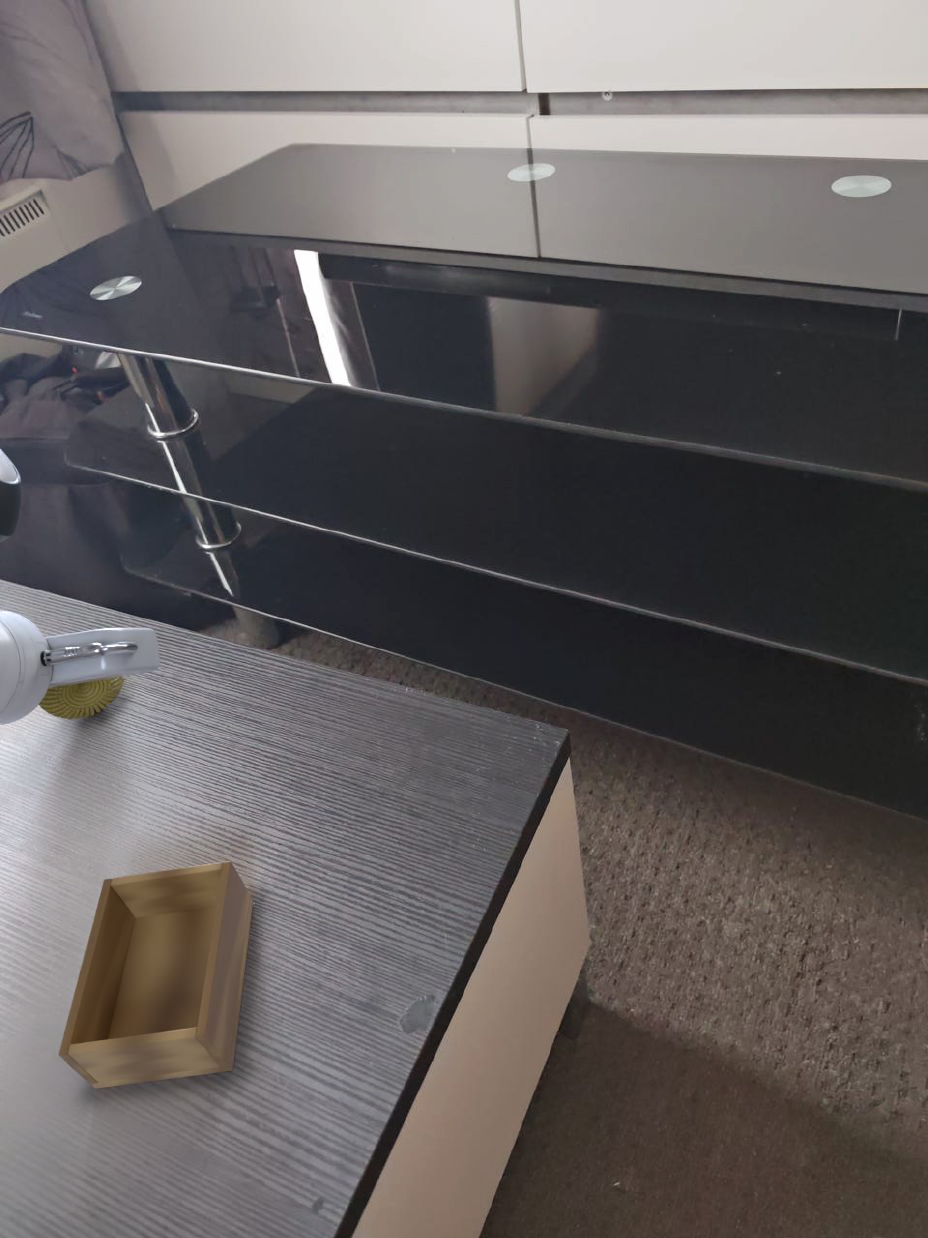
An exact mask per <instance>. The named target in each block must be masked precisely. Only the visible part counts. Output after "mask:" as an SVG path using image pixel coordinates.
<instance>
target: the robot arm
mask: <svg viewBox="0 0 928 1238" xmlns="http://www.w3.org/2000/svg"><path fill="white" fill-rule="evenodd" d="M21 509H22V478H21V475H20V472H19V471H18V469H17V467H16V465H14V463H13V461H11V459H10V458H9V457H8V456H7V455H6V453H5V452H4V451H3V450H2V449H1V448H0V544H1V543H3V542H4V541H6V540H8V539H9V538H11V537H12V536H13V535H14V534H15V532H16V530H17V526H18V523H19V519H20V513H21ZM160 665H161V655H160V647H159V640H158V637H157V633H156V631H155V630H154V629H153V628H151V627H105V628H97V629H96V628H95V629H89V630H83V631H76V632H70V633H65V634H57V635H52V636H51V635H50V636H46V637H45V635H44V634H43V632H42V631H41V630H40V629H39V628H38V626H37V625H36V624H34V623H33V622H32V621H31V620H29V619H28V618H27V617H25V616H23V615H21V614H19V613H16V612H13V611H8V610H1V609H0V726H3V725H7V724H11V723H12V724H13V723H14V722H17V721H19V720H22V719H23V718H24V717H26V716H28V715H29V714H30V713H32V712H33V711H34V710H35V709H36V708H37V707H38V706H39V705H38V704H39V703H40V702H41V701H42V699H43V698H44V696H45V694H46V692H47V690H48V688H53V687H59V686H65V685H72V684H78V683H84V682H91V681H97V680H103V679H109V678H116V677H122V676H124V677H128V676H134V675H140V674H141V675H142V674H146V673H150V672H154V671H156V670H158V669H159V667H160Z"/></svg>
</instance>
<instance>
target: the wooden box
mask: <svg viewBox="0 0 928 1238" xmlns="http://www.w3.org/2000/svg"><path fill="white" fill-rule="evenodd" d="M253 905H254V899H253V898H252V896H251V894H250V892H249V891H248V888H247V887H246V885H245V884H244V881H243V880H242V878H241V876H240V875H239V873H238V871H237V870H236V868H235V866H234V864H233V863H232V861H231V860H227V861H223V862H216V863H215V862H214V863H207V864H200V865H193V866H187V867H181V868H173V869H167V870H160V871H153V872H146V873H139V874H131V875H125V876H119V877H113V878H105V879H103V882H102V886H101V891H100V894H99V898H98V902H97V906H96V910H95V913H94V917H93V922H92V925H91V929H90V932H89V936H88V940H87V944H86V948H85V951H84V956H83V959H82V963H81V967H80V971H79V975H78V978H77V981H76V986H75V990H74V994H73V998H72V1002H71V1005H70V1009H69V1012H68V1016H67V1020H66V1024H65V1028H64V1031H63V1034H62V1035H63V1036H62V1040H61V1043H60V1048H59V1050H58V1056H59V1058H60V1059H62V1060H63V1061H64V1062H65V1063H66V1064H67V1065H68V1066H69V1067H70V1068H71V1069H73V1070H74V1071H75V1072H76V1073H77V1074H78V1075H79V1076H80V1077H81V1078H82V1079H83V1080H85V1082H86V1083H88V1084H89V1086H91V1087H92V1088H93V1089H94V1090H96V1089H97V1090H98V1089H102V1088H110V1087H118V1086H119V1087H120V1086H125V1085H132V1084H133V1085H134V1084H141V1083H149V1082H157V1081H163V1080H172V1079H178V1078H187V1077H193V1076H194V1077H195V1076H199V1075H200V1076H203V1075H209V1074H216V1073H224V1072H231V1071H233V1070H234V1064H235V1056H236V1047H237V1046H236V1045H237V1039H238V1033H239V1032H238V1031H239V1023H240V1022H239V1021H240V1014H241V1006H242V997H243V990H244V981H245V974H246V973H245V972H246V965H247V964H246V963H247V957H248V956H247V955H248V947H249V940H250V931H251V923H252V916H253V915H252V914H253V913H252V912H253V908H254V906H253Z"/></svg>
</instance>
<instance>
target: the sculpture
mask: <svg viewBox="0 0 928 1238" xmlns="http://www.w3.org/2000/svg"><path fill="white" fill-rule="evenodd" d="M124 680H125V676H122V677H116V678H109V679H103V680H97V681H91V682H84V683H78V684H72V685H65V686H59V687H53V688H48V690H47V692H46V694H45V696H44V698H43V699H42V701H41V702H40V703H39V704H38V706H39V707H40V708H41V709H42V710H44V711H45V712H46V713H47V714H49V715H52V716H53V717H57V718H60V719H63V720H66V719H67V720H78V719H79V720H81V719H82V718H83V719H86V718H88V717H89V716H90V717H91V716H94V715H95V712H96V713H101V709H102V710H105V709H106V708H107V706H110V705H111V704H112V703H113V701H115V699H116V698H117V697H118V696H119V694H120V692H121V690H122V688H123V684H124Z"/></svg>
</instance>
